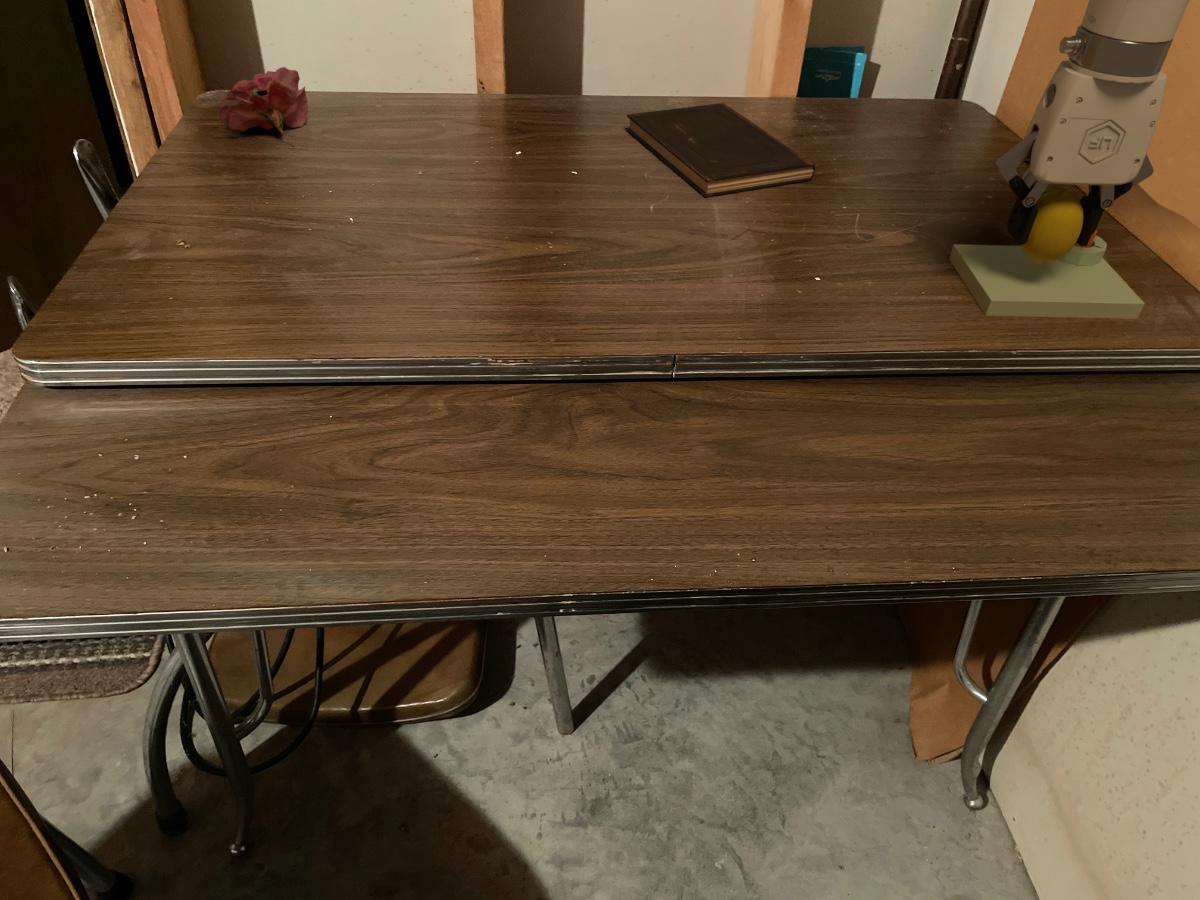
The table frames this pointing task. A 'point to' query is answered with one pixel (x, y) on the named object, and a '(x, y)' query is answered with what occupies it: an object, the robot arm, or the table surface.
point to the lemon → (1054, 226)
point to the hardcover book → (718, 149)
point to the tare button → (1089, 241)
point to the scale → (1045, 283)
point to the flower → (266, 102)
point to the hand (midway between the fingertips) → (1047, 237)
